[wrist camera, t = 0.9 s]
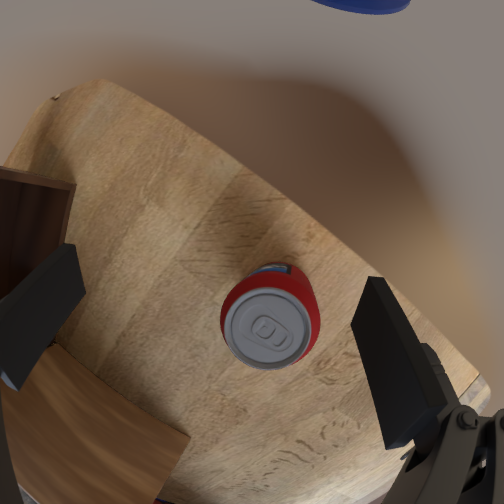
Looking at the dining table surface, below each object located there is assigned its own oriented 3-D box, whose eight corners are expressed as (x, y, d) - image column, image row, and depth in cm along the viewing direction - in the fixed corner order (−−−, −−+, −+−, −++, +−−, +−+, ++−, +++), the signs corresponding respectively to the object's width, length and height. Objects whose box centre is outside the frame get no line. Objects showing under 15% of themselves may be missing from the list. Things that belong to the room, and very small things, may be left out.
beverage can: (270, 247, 29) (252, 253, 17) (325, 285, 28) (345, 318, 16) (233, 301, 29) (193, 340, 17) (286, 338, 29) (279, 397, 17)
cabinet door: (177, 460, 32) (111, 564, 10) (54, 371, 34) (-42, 421, 13) (191, 438, 31) (117, 557, 10) (58, 342, 34) (-53, 389, 12)
